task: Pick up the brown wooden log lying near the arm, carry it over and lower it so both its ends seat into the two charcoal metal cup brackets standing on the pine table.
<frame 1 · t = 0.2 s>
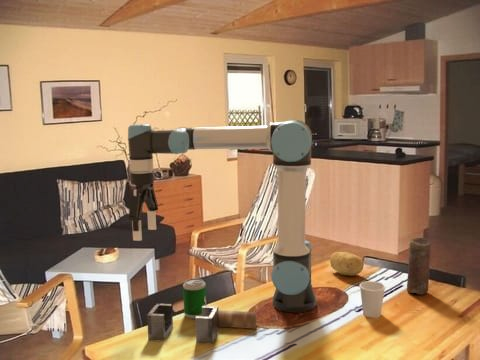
hand: (145, 234, 167), 28 cm above the table, fingers open, 13 cm apart
bracket b: (161, 333, 156), on the table
soda can: (195, 315, 169), on the table
dixie cup: (371, 314, 167), on the table
bracket a: (207, 336, 153), on the table
candle: (417, 293, 184), on the table
potato: (346, 274, 205), on the table
brown wooden log: (232, 326, 160), on the table
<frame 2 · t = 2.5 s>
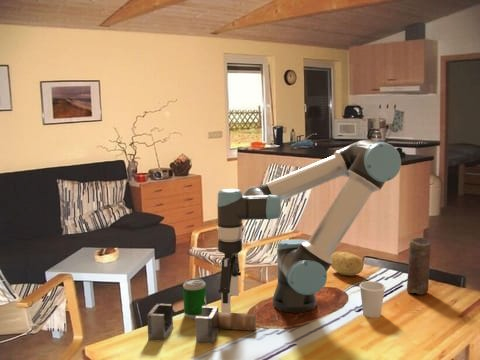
hand: (230, 303, 159), 8 cm above the table, fingers open, 13 cm apart
brown wooden log: (232, 324, 160), on the table, tilted 36°
everything else where it was.
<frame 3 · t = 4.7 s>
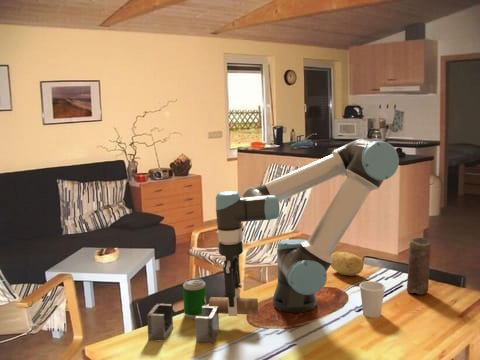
hand: (234, 311, 160), 5 cm above the table, fingers closed on brown wooden log, 5 cm apart
brown wooden log: (234, 312, 160), point 4 cm above the table, tilted 16°, touching gripper
everything else where it was.
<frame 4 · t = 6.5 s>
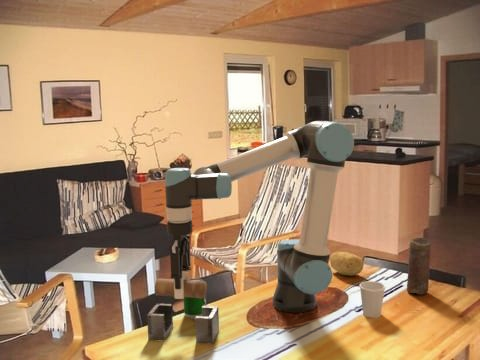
hand: (182, 294, 152), 13 cm above the table, fingers closed on brown wooden log, 5 cm apart
brown wooden log: (181, 295, 153), point 13 cm above the table, tilted 15°, touching gripper
everything else where it was.
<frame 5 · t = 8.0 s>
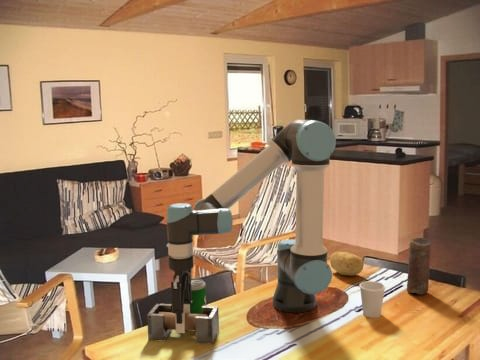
hand: (183, 327, 154), 2 cm above the table, fingers closed on brown wooden log, 5 cm apart
brown wooden log: (183, 327, 155), point 2 cm above the table, tilted 15°, touching bracket a, bracket b, gripper
everything else where it was.
when the fingers open (2 cm above the table, at t = 8.3 s): brown wooden log stays where it is, resting on bracket a, bracket b.
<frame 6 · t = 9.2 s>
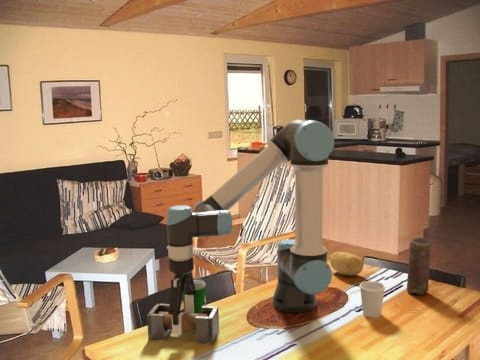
hand: (183, 323, 154), 4 cm above the table, fingers open, 13 cm apart
brown wooden log: (183, 328, 155), point 2 cm above the table, tilted 11°, touching bracket a, bracket b
everything else where it was.
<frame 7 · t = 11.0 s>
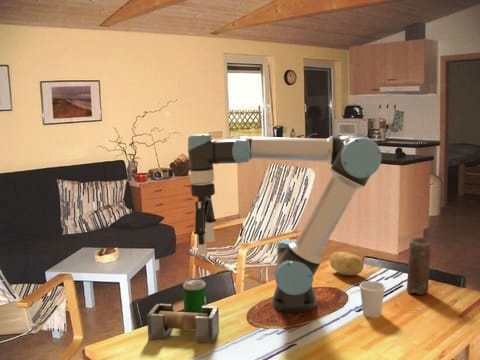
hand: (206, 247, 162), 24 cm above the table, fingers open, 13 cm apart
brown wooden log: (183, 328, 155), point 2 cm above the table, touching bracket a, bracket b
everything else where it was.
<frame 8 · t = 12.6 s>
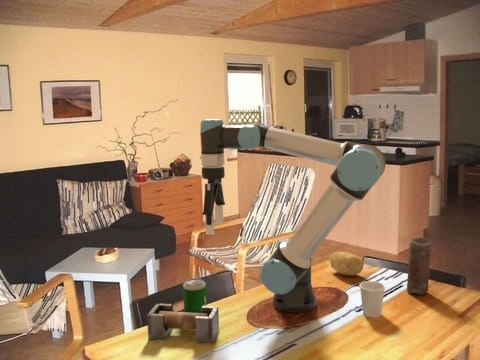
hand: (214, 229, 168), 29 cm above the table, fingers open, 13 cm apart
nothing on the table moved.
at the end: brown wooden log 0.7 cm from the target spot, point 2.0 cm above the table; the gripper is holding nothing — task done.
